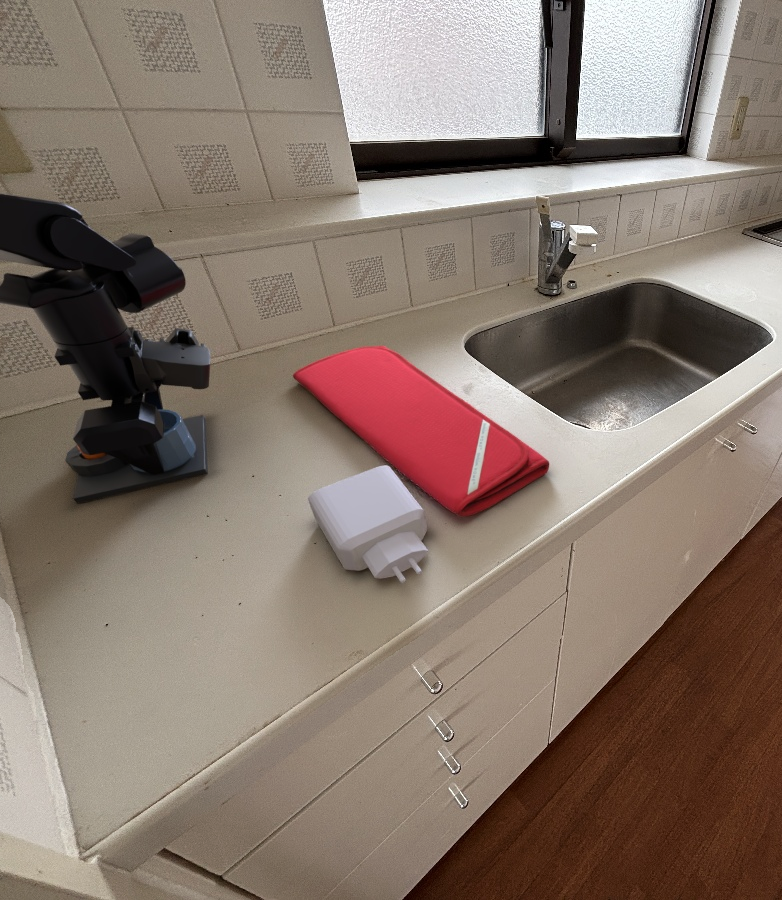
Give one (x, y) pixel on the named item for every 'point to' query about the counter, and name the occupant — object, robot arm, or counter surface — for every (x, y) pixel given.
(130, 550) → the counter surface
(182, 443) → the bowl
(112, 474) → the scale
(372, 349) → the dish drying mat
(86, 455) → the tare button
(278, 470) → the counter surface
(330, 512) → the charger
